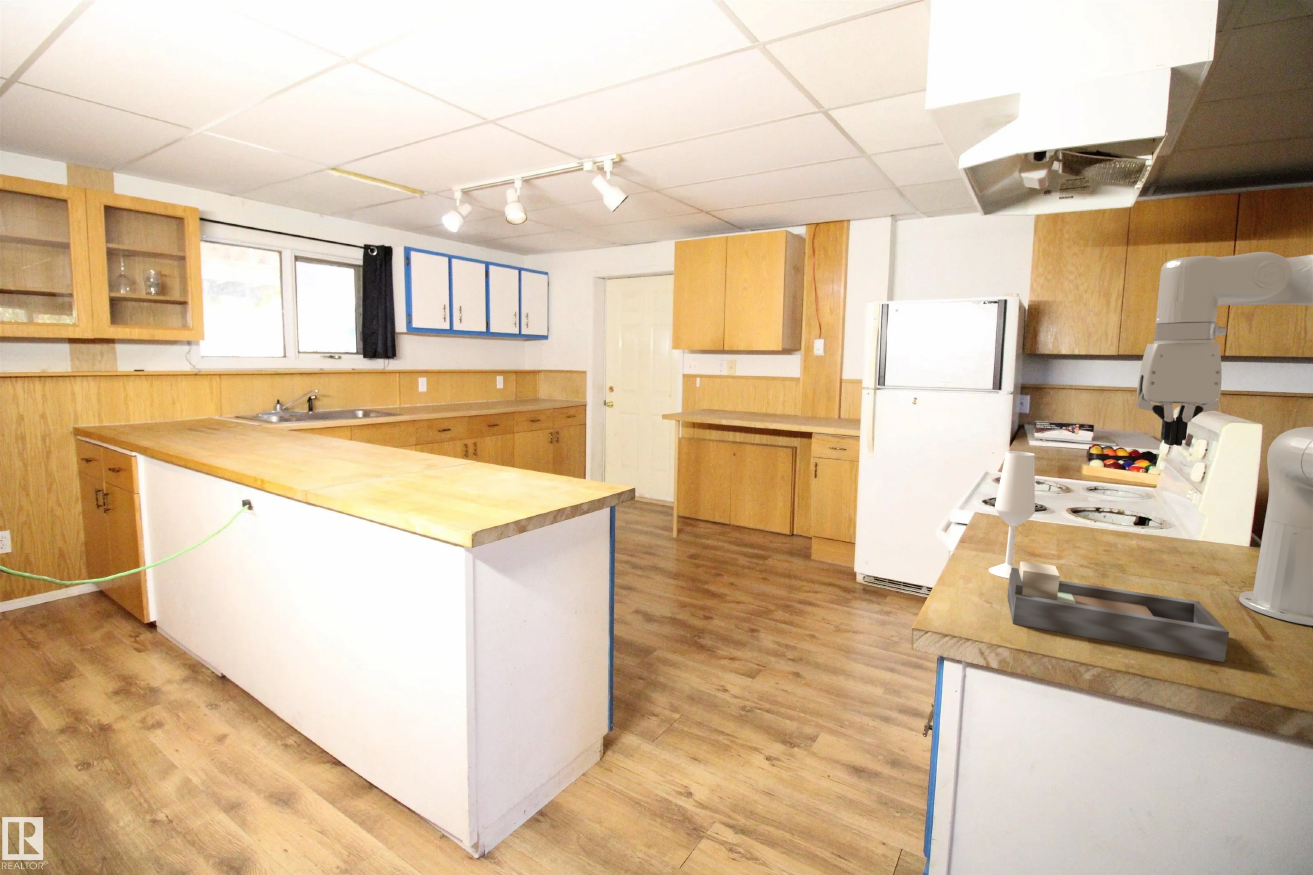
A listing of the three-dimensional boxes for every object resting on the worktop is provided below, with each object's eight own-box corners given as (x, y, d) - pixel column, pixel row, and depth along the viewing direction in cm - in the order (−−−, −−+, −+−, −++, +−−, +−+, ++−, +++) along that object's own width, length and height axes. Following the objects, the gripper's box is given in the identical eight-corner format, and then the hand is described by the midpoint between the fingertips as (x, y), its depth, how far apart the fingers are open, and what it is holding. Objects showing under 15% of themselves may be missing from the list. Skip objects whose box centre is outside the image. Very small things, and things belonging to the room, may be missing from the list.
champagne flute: (992, 564, 125) (1003, 449, 121) (1030, 572, 120) (1043, 453, 117) (985, 573, 120) (997, 453, 116) (1024, 581, 115) (1037, 457, 112)
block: (1051, 594, 102) (1055, 565, 101) (1056, 605, 97) (1059, 575, 97) (1017, 589, 104) (1020, 561, 103) (1020, 599, 99) (1023, 570, 99)
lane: (1194, 628, 97) (1200, 592, 96) (1224, 662, 86) (1230, 622, 85) (1007, 597, 108) (1010, 564, 107) (1012, 623, 97) (1016, 587, 96)
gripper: (1232, 334, 101) (1220, 443, 103) (1122, 336, 107) (1112, 439, 109) (1254, 333, 94) (1240, 450, 96) (1134, 335, 100) (1124, 445, 103)
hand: (1172, 444), depth 103 cm, fingers closed
